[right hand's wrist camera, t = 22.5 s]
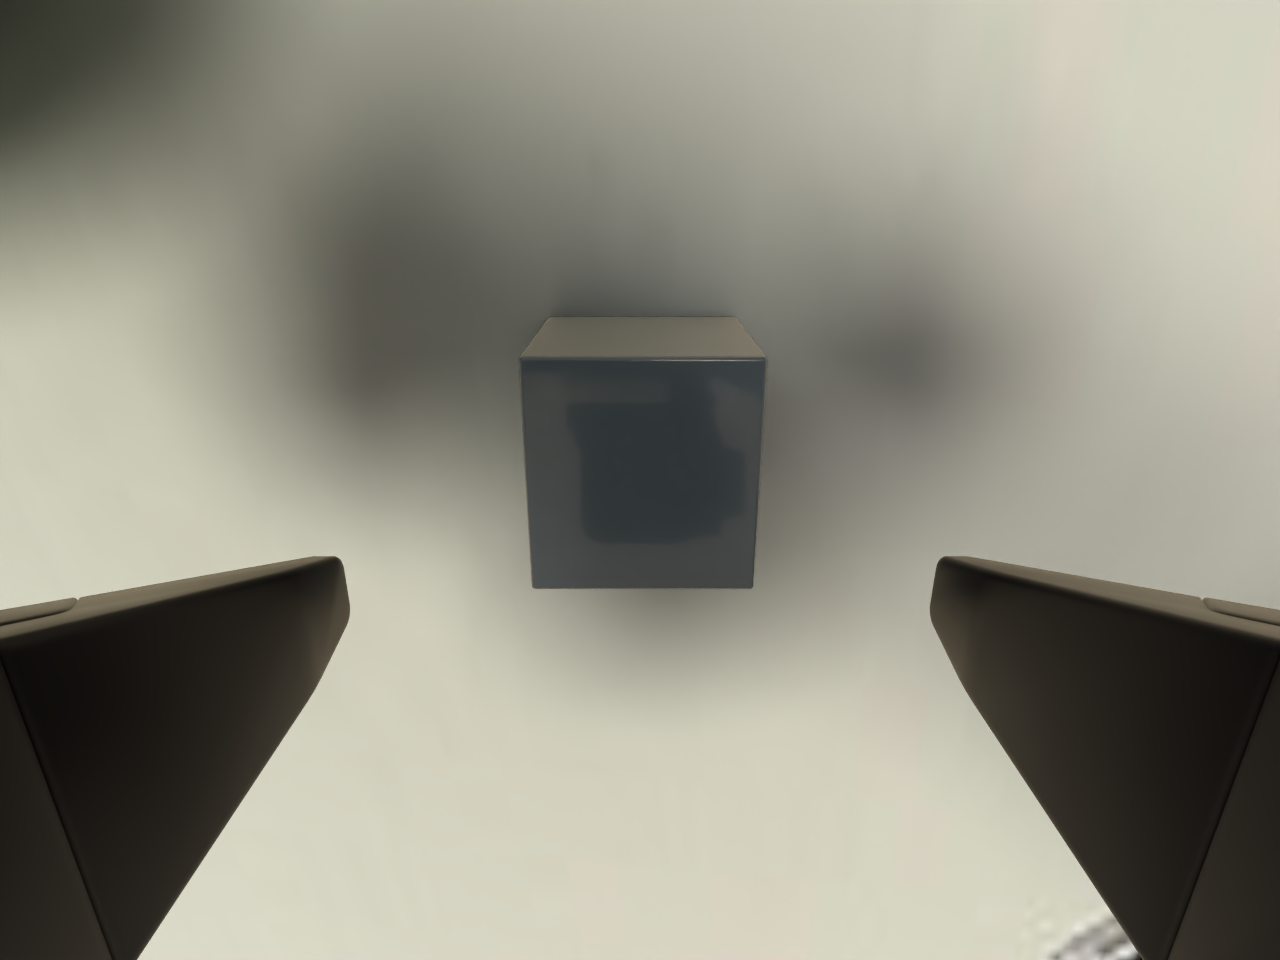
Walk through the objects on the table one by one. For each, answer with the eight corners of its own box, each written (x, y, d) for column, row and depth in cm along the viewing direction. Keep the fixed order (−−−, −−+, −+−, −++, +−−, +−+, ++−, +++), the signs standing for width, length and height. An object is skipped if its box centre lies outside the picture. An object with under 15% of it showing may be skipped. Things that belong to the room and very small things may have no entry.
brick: (547, 316, 19) (517, 357, 14) (736, 316, 19) (768, 357, 14) (556, 501, 21) (531, 590, 16) (728, 500, 21) (753, 590, 16)
